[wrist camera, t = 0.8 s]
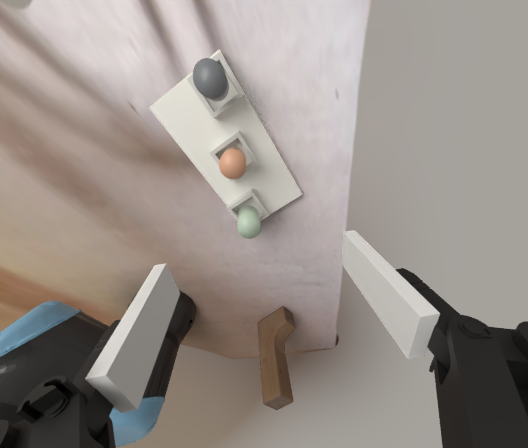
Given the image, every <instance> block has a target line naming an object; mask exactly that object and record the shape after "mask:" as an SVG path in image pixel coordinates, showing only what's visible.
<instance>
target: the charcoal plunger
mask: <svg viewBox="0 0 528 448" xmlns="http://www.w3.org/2000/svg"><path fill="white" fill-rule="evenodd" d="M193 81H194V84H195V87H196V88H197V90H198V91H199V92H200V93H201V94H202V95H204V96H205V97H207V98H208V99H210V100H212V101H216V102H217V101H221V100H223V99H224V98H225V97H226V96H227V94H228V91H229V83H228V80H227V77H226V75H225V72H224V70H223V68H222V66H221V65H220V64H219V63H218V62H217V61H215V60H213V59H210V58H205V59H202V60H200V61H199V62H198V63H197V64H196V65H195V67H194V70H193Z"/></svg>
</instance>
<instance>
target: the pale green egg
mask: <svg viewBox="0 0 528 448" xmlns="http://www.w3.org/2000/svg"><path fill="white" fill-rule="evenodd" d="M260 231H261V225H260V219H259V213H258V210H257V209H256V208H255V207H253V206H244V207H242V208H241V209H240V211H239V213H238V232H239V234H240V235H241V236H242V237H244V238H254V237H256V236H257V235H258V234H259V233H260Z"/></svg>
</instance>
